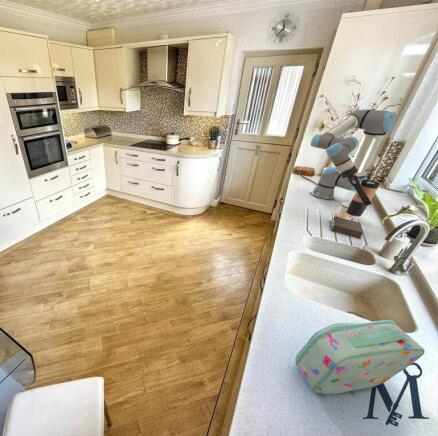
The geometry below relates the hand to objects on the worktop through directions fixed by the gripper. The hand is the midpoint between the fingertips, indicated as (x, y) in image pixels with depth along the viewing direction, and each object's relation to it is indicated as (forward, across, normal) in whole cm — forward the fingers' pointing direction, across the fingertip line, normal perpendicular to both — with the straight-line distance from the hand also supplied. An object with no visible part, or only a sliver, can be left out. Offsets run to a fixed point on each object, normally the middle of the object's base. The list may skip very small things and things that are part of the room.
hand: (367, 202), depth 132 cm
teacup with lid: (+12, -21, -16) cm, 29 cm away
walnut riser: (+12, 0, -16) cm, 20 cm away
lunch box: (+6, +106, -22) cm, 108 cm away
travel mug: (+4, 0, -8) cm, 9 cm away
